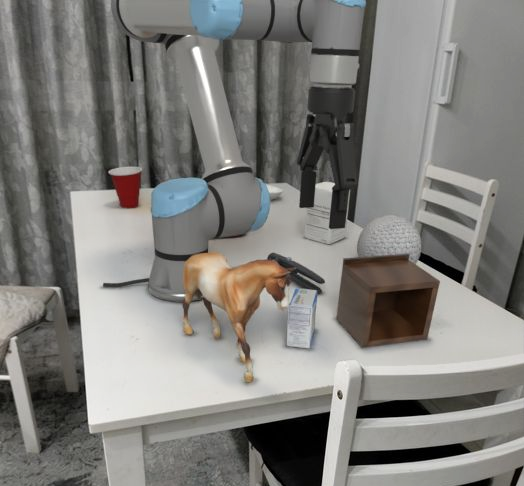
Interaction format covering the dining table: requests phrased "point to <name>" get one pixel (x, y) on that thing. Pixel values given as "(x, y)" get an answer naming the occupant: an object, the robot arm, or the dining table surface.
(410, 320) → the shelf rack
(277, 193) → the spoon rest
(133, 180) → the plastic cup
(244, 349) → the horse figurine
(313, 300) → the medicine box
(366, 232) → the decorative ball
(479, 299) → the dining table surface
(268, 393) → the dining table surface
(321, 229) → the white product box
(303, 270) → the can opener
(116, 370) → the dining table surface
